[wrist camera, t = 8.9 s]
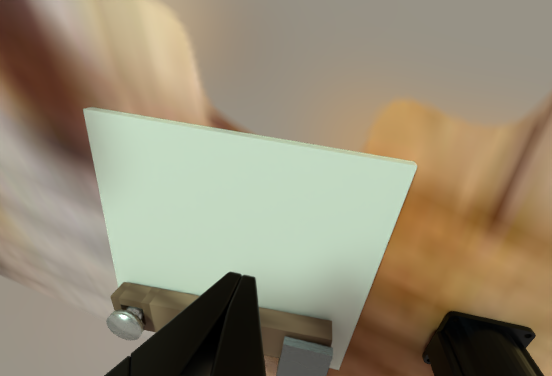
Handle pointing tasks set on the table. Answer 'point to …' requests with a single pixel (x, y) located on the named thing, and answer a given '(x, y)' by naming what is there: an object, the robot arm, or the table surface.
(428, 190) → the table surface
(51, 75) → the table surface
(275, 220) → the base plate
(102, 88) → the table surface
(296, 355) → the keeper
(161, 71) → the table surface
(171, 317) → the link
